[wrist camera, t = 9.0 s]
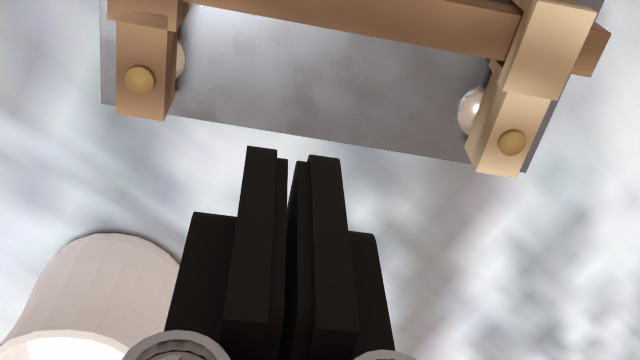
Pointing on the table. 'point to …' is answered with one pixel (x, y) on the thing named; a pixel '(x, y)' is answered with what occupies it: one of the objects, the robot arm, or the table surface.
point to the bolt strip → (323, 82)
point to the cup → (95, 301)
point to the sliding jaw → (526, 83)
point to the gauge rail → (321, 11)
